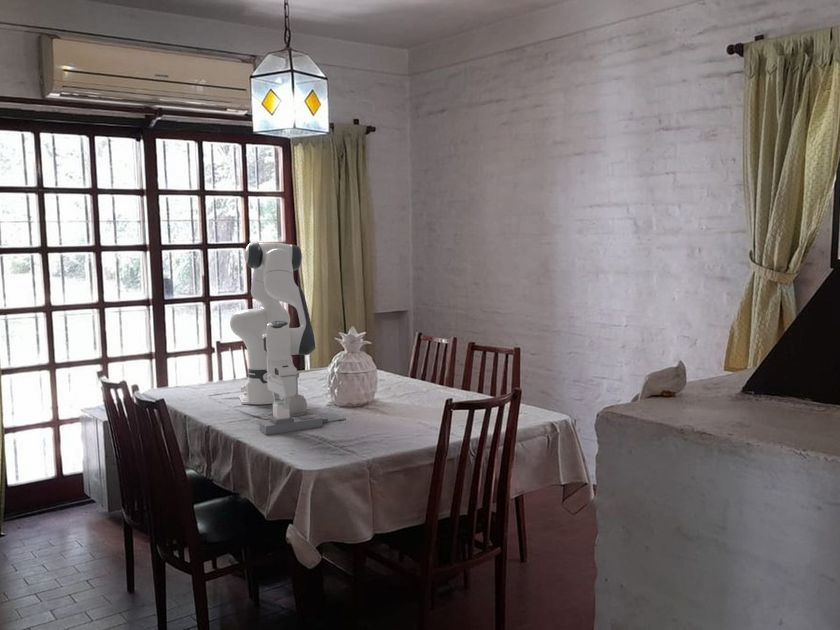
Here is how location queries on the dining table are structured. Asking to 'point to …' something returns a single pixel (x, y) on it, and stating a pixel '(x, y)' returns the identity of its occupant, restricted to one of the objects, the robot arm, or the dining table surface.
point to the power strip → (290, 424)
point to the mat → (332, 417)
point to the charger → (280, 411)
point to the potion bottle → (297, 402)
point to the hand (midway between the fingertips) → (281, 406)
